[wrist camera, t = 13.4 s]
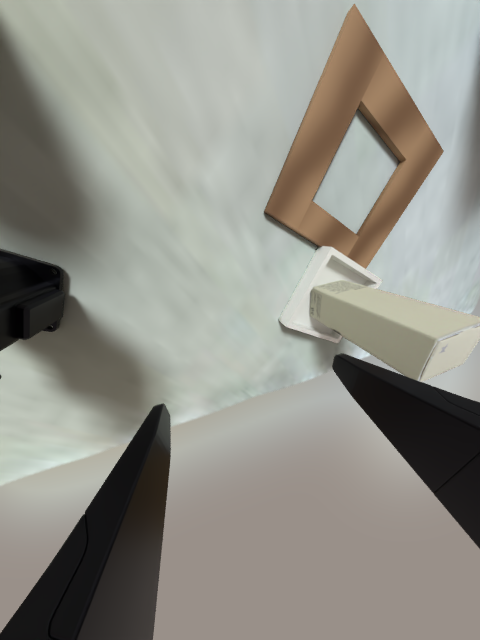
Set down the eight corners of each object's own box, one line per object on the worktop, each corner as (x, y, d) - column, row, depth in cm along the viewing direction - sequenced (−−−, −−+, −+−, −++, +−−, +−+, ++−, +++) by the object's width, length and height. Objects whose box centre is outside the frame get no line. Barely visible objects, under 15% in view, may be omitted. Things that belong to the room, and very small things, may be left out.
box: (308, 316, 24) (413, 388, 13) (310, 285, 22) (438, 340, 11) (340, 307, 25) (465, 367, 14) (345, 277, 22) (498, 319, 11)
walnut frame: (263, 212, 17) (266, 211, 17) (347, 13, 13) (354, 3, 12) (359, 272, 23) (363, 272, 23) (436, 153, 19) (443, 151, 19)
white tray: (278, 319, 23) (285, 326, 22) (318, 245, 20) (331, 246, 18) (328, 336, 27) (337, 343, 26) (368, 276, 24) (382, 280, 22)
